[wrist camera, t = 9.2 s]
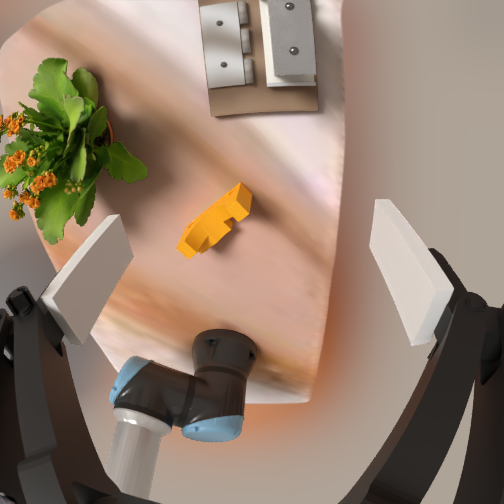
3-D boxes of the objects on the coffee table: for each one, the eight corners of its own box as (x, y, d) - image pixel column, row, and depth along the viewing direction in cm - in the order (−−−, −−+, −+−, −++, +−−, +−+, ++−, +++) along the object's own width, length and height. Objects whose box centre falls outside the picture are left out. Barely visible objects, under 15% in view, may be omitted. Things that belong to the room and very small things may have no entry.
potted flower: (189, 110, 35) (134, 139, 21) (129, 229, 47) (81, 298, 33) (64, 51, 28) (-18, 63, 14) (30, 168, 40) (-31, 214, 26)
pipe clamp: (205, 242, 48) (197, 266, 43) (186, 225, 46) (176, 248, 41) (260, 202, 43) (258, 223, 38) (241, 181, 41) (236, 200, 36)
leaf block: (305, 74, 30) (316, 74, 23) (273, 75, 31) (274, 75, 23) (299, 5, 24) (308, -15, 17) (267, 6, 25) (266, -14, 17)
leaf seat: (314, 85, 31) (315, 85, 30) (267, 86, 32) (267, 86, 30) (306, -4, 24) (308, -7, 22) (258, -3, 24) (258, -6, 23)
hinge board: (316, 109, 34) (319, 111, 32) (213, 115, 35) (209, 117, 34) (306, -22, 23) (308, -27, 21) (198, -14, 24) (194, -18, 22)
